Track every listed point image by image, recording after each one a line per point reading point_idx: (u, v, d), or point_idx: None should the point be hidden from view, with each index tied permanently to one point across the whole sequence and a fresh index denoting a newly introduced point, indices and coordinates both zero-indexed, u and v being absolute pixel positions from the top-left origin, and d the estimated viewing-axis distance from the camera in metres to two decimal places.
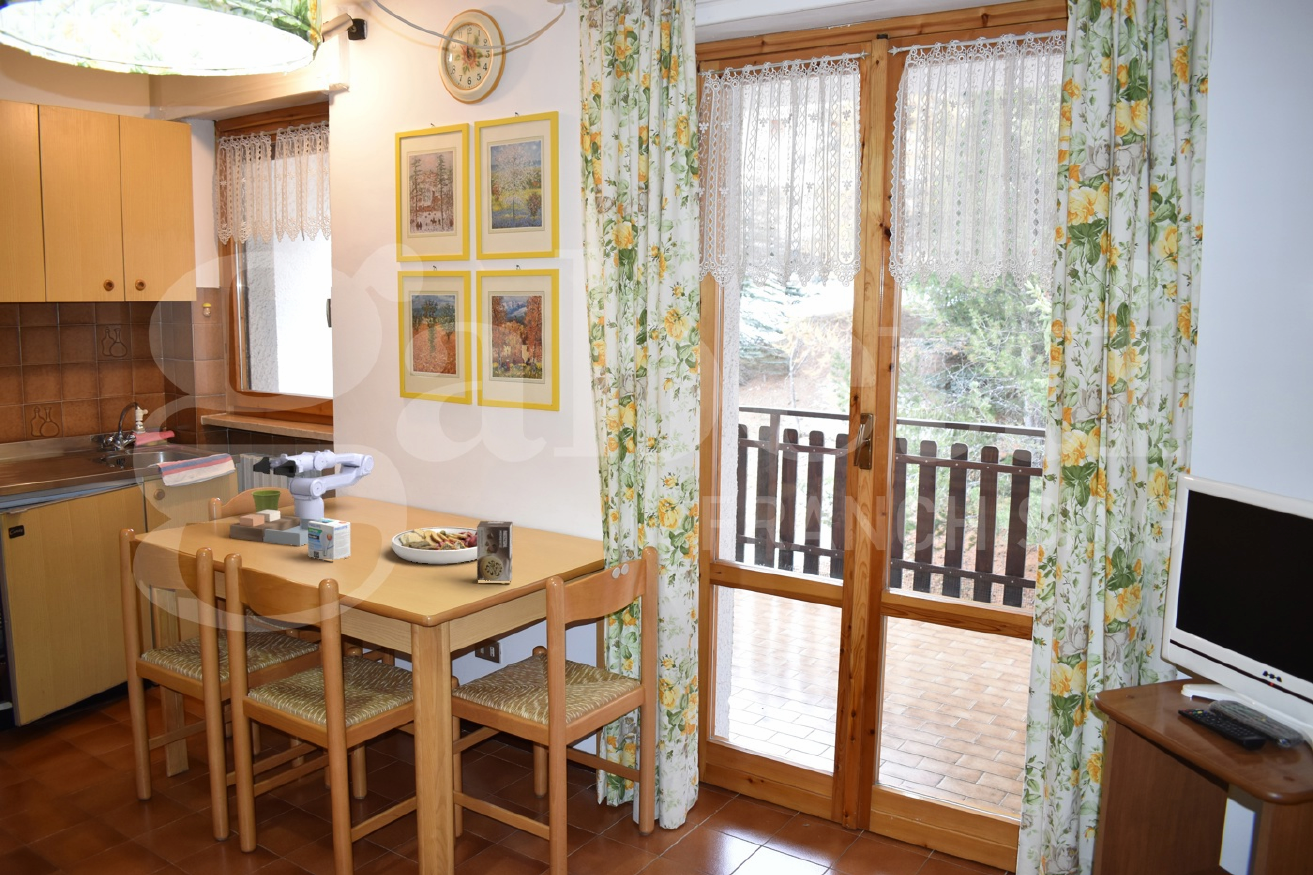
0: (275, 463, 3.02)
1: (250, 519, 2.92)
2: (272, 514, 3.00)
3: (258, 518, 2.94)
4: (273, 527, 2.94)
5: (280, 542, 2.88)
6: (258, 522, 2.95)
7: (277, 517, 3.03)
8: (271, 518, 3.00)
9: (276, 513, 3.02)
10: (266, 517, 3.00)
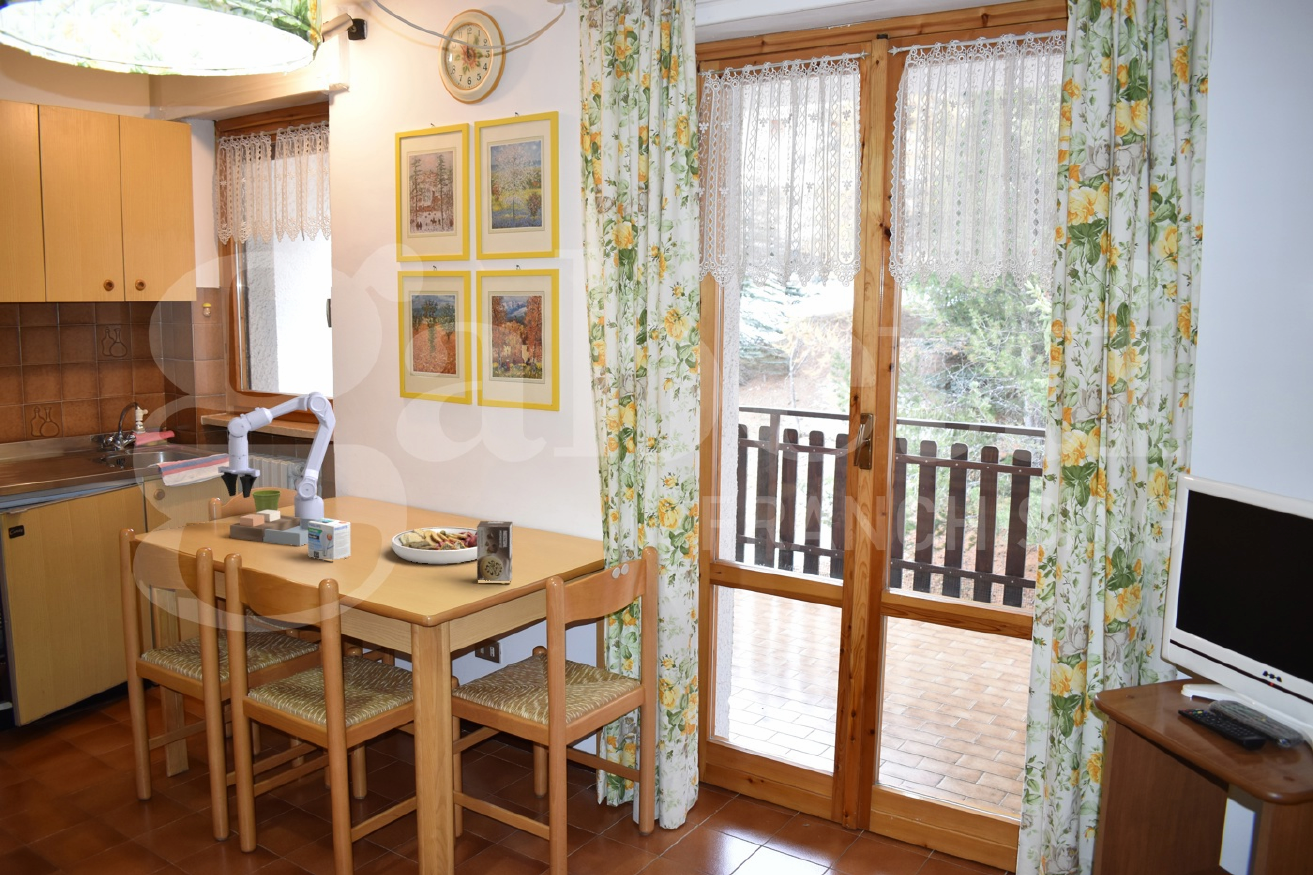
0: (230, 471, 3.04)
1: (250, 519, 2.92)
2: (272, 514, 3.00)
3: (258, 518, 2.94)
4: (273, 527, 2.94)
5: (280, 542, 2.88)
6: (258, 522, 2.95)
7: (277, 517, 3.03)
8: (271, 518, 3.00)
9: (276, 513, 3.02)
10: (266, 517, 3.00)
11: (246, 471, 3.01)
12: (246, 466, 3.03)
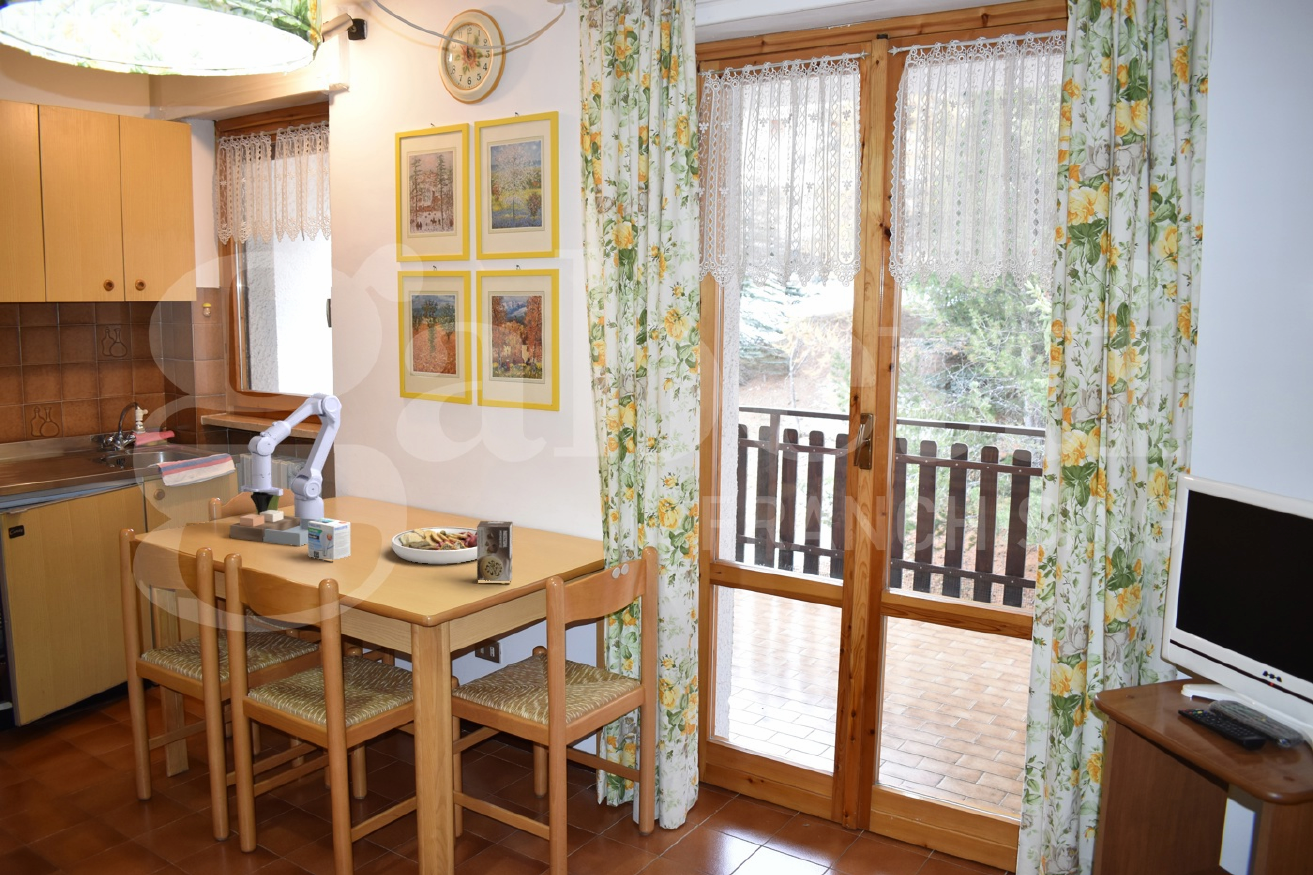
0: None
1: (250, 519, 2.92)
2: (275, 514, 3.00)
3: (258, 518, 2.94)
4: (273, 527, 2.94)
5: (280, 542, 2.88)
6: (258, 522, 2.95)
7: (280, 517, 3.02)
8: (274, 518, 3.00)
9: (279, 513, 3.02)
10: (269, 517, 2.99)
11: (269, 490, 2.99)
12: (269, 485, 3.01)
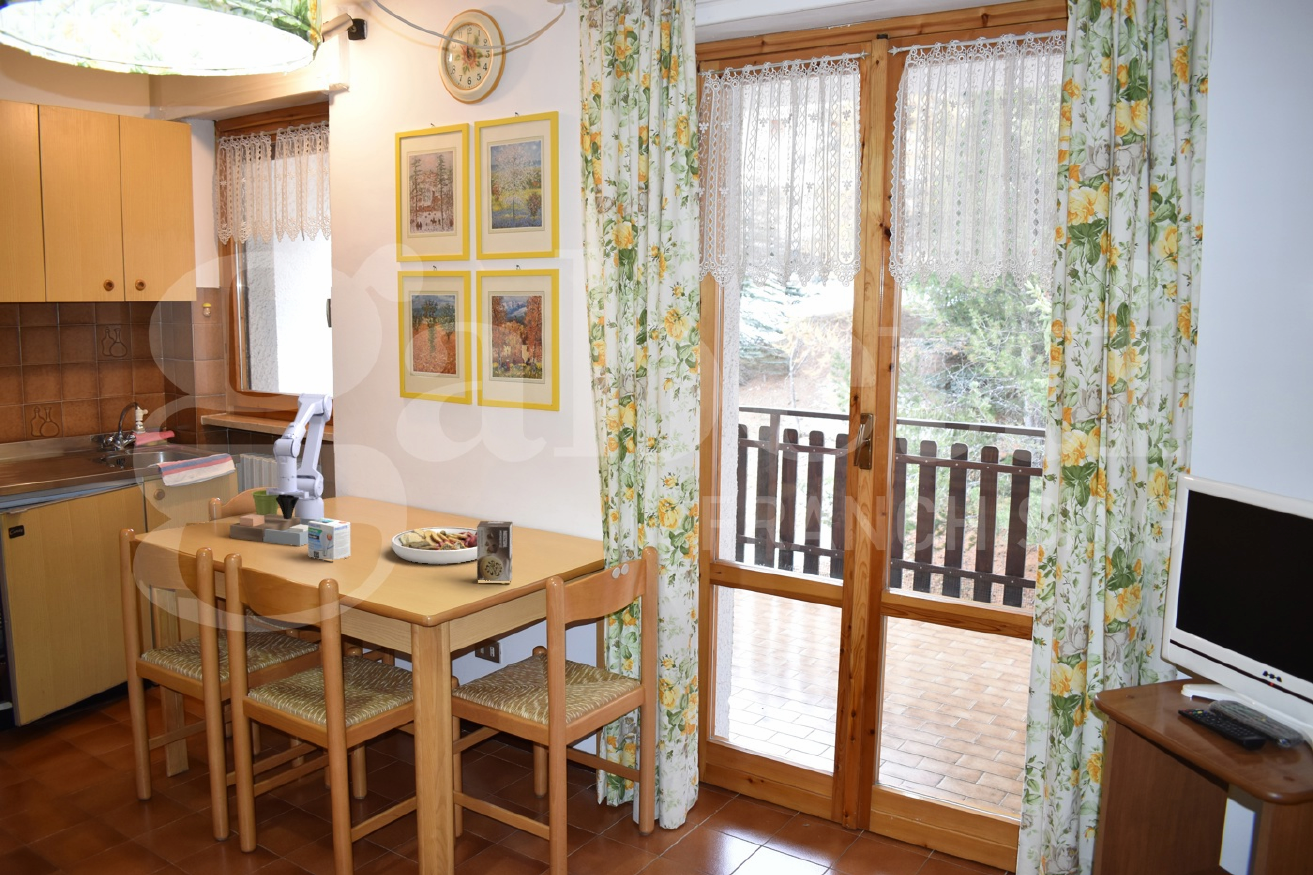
0: None
1: (250, 519, 2.92)
2: None
3: (258, 518, 2.94)
4: (273, 527, 2.94)
5: (280, 542, 2.88)
6: (258, 522, 2.95)
7: None
8: None
9: None
10: None
11: (295, 493, 2.96)
12: (295, 488, 2.98)
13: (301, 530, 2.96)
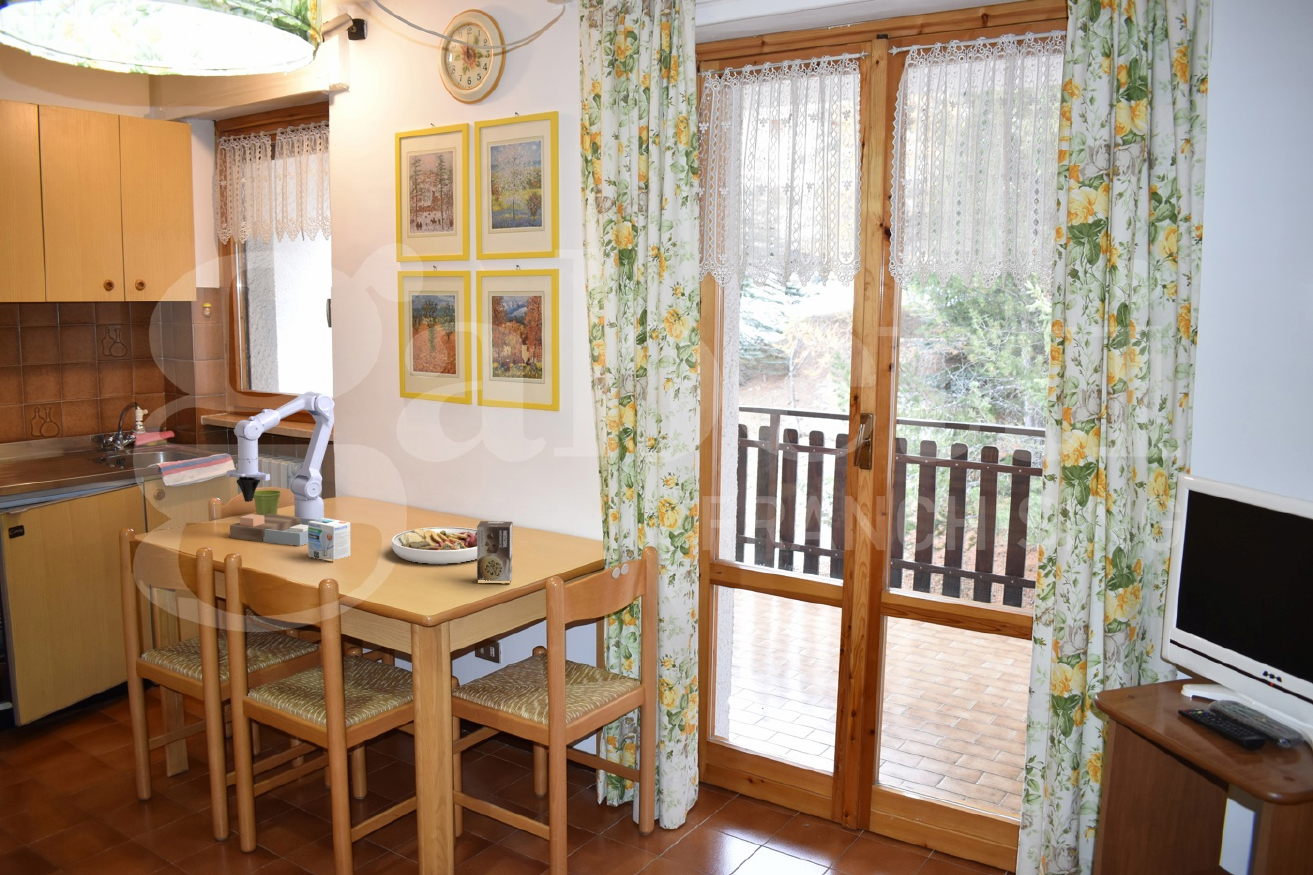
0: (240, 475, 2.97)
1: (250, 519, 2.92)
2: None
3: (258, 518, 2.94)
4: (273, 527, 2.94)
5: (280, 542, 2.88)
6: (258, 522, 2.95)
7: None
8: None
9: None
10: None
11: (256, 475, 2.94)
12: (256, 470, 2.96)
13: (301, 530, 2.96)
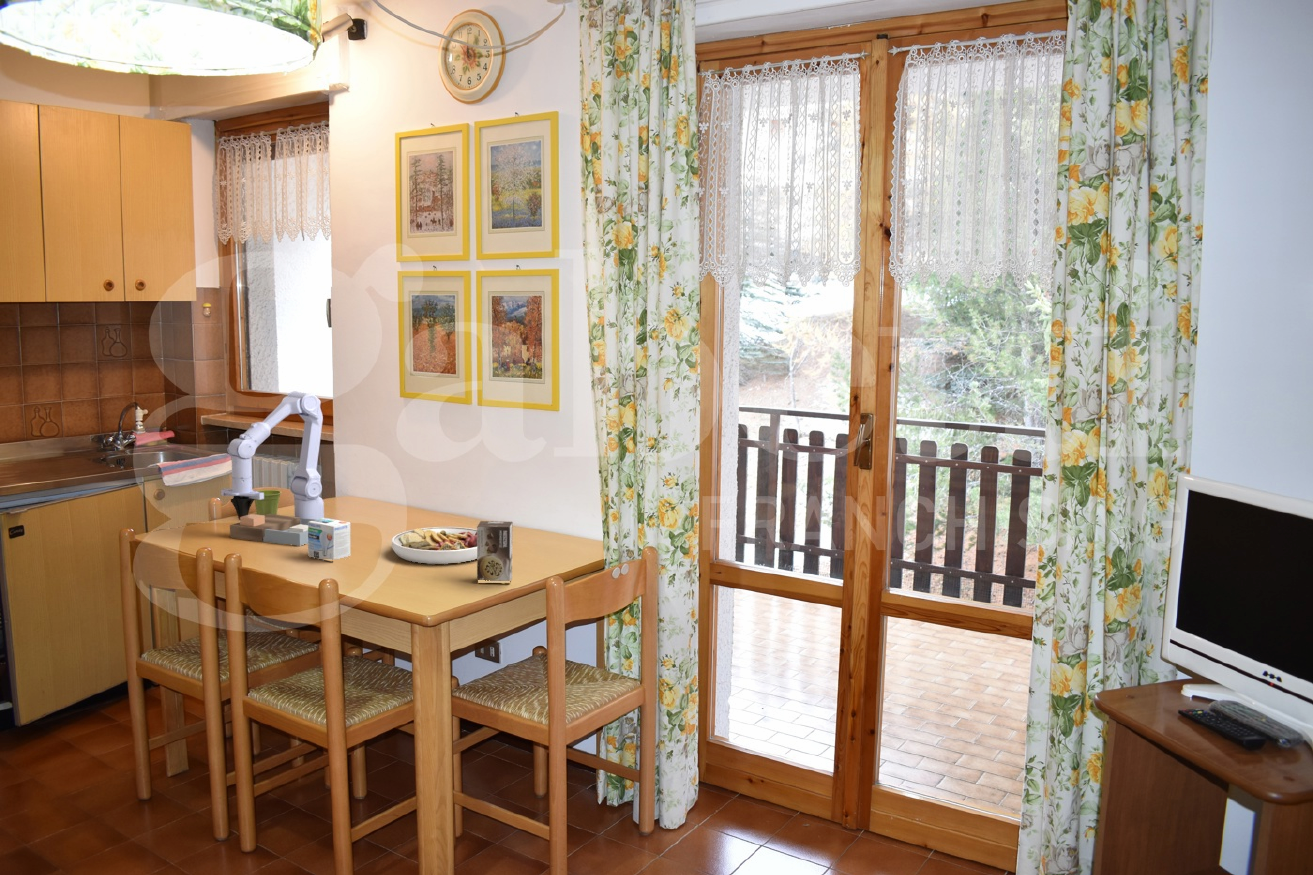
0: (234, 494, 2.95)
1: (250, 519, 2.92)
2: None
3: (258, 518, 2.94)
4: (273, 527, 2.94)
5: (280, 542, 2.88)
6: (259, 522, 2.95)
7: None
8: None
9: None
10: None
11: (249, 494, 2.92)
12: (250, 489, 2.94)
13: (301, 530, 2.96)
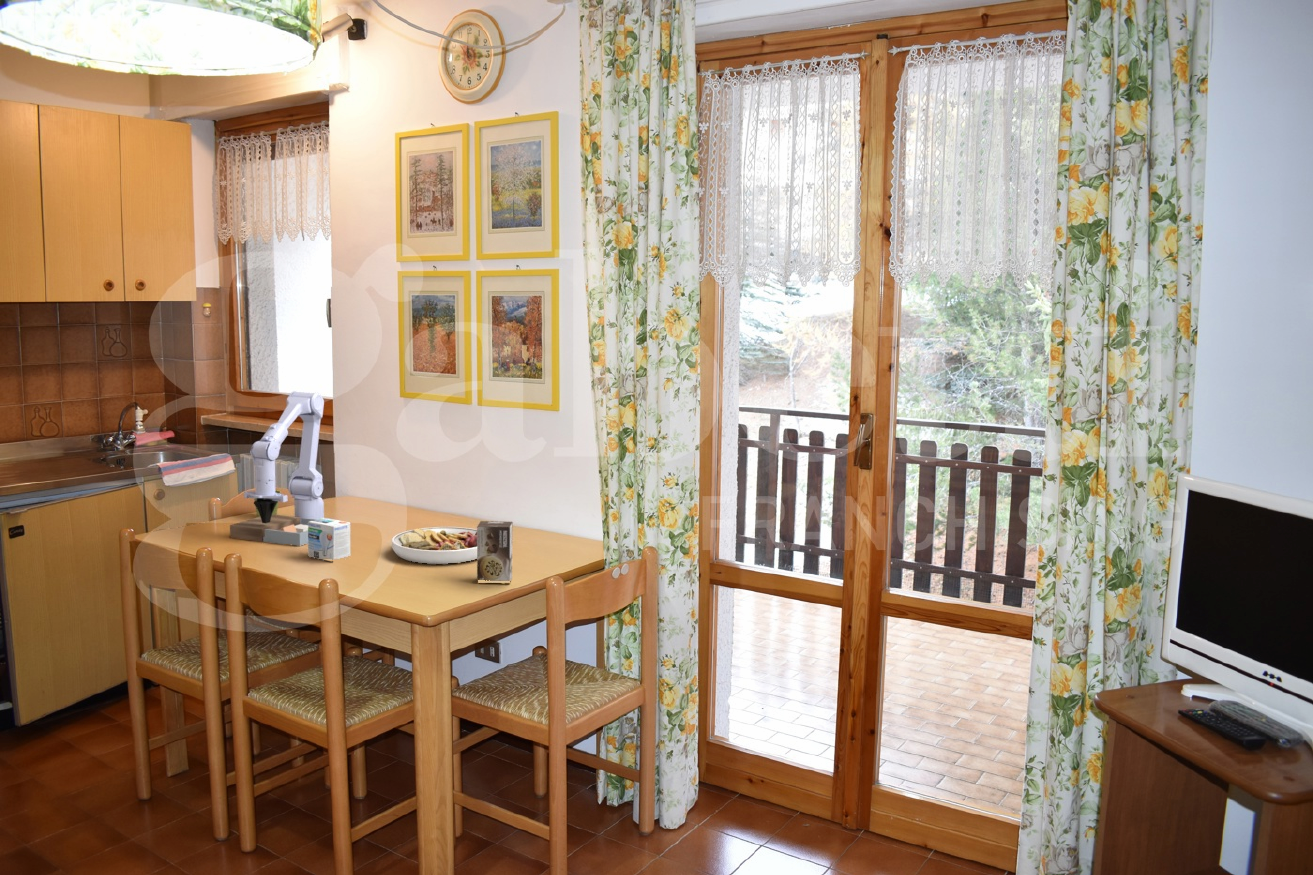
0: None
1: None
2: None
3: None
4: (273, 527, 2.94)
5: (280, 542, 2.88)
6: None
7: None
8: None
9: None
10: None
11: (273, 496, 2.90)
12: (273, 491, 2.92)
13: (301, 530, 2.96)
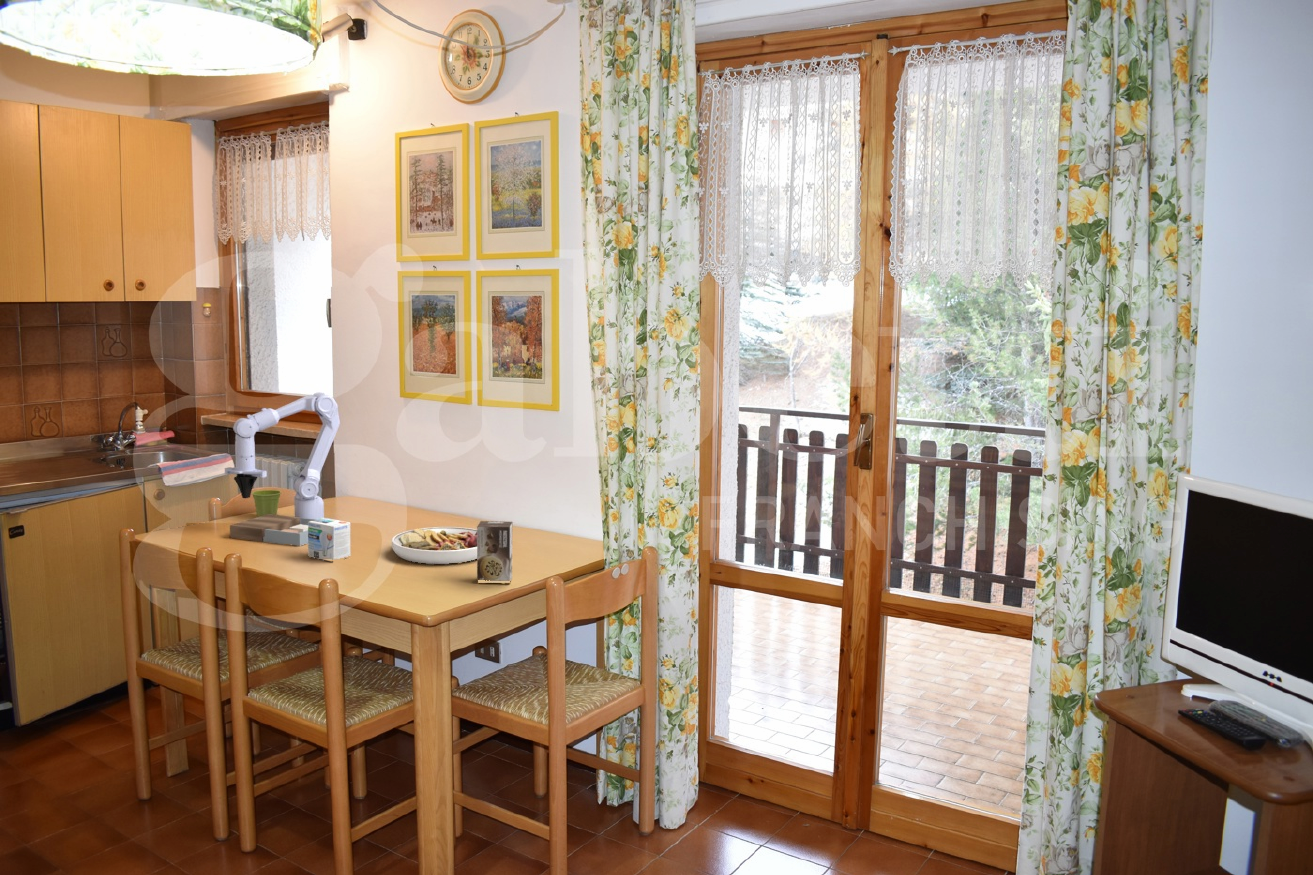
0: None
1: None
2: None
3: None
4: (273, 527, 2.94)
5: (280, 542, 2.88)
6: None
7: None
8: None
9: None
10: None
11: (252, 472, 2.99)
12: (253, 467, 3.01)
13: (301, 530, 2.96)
